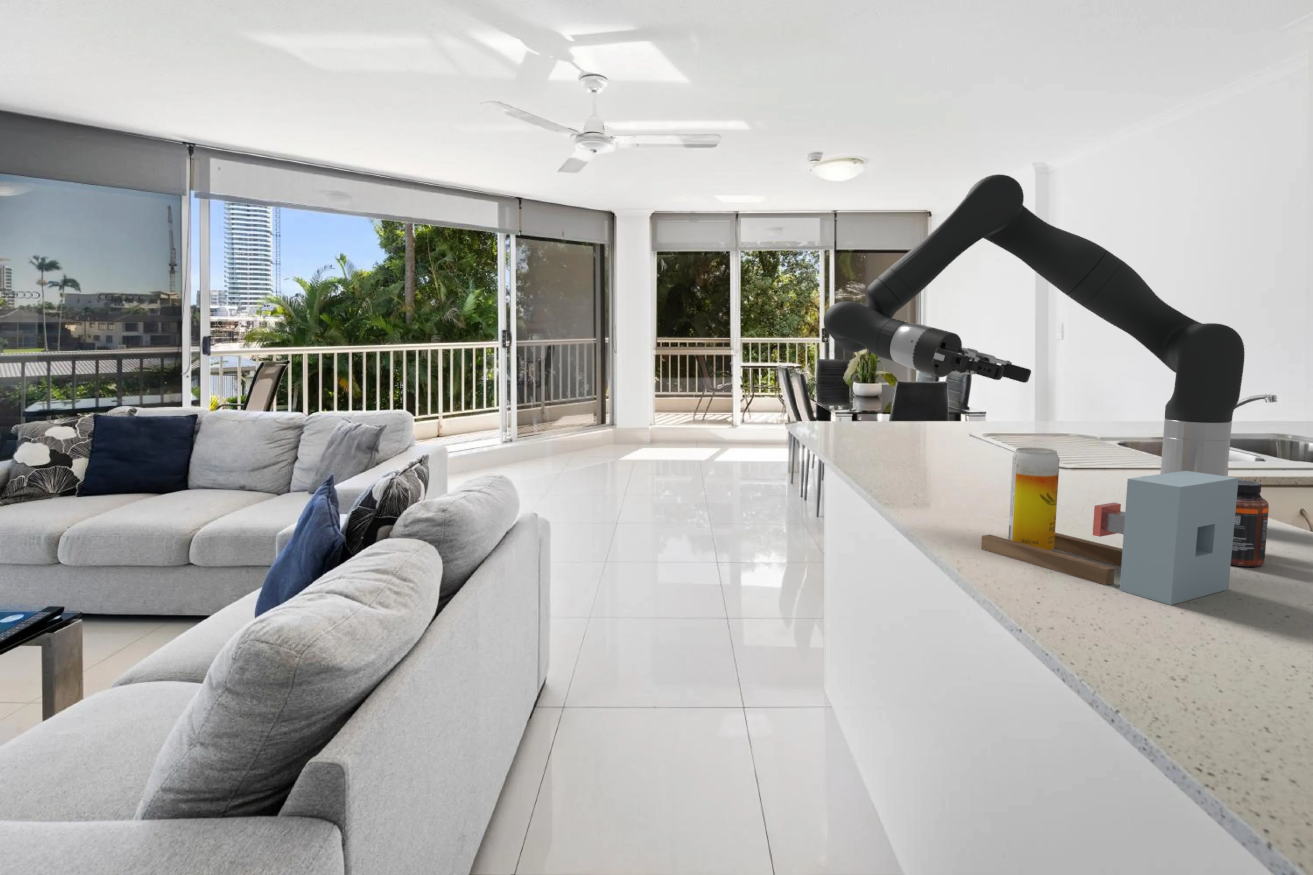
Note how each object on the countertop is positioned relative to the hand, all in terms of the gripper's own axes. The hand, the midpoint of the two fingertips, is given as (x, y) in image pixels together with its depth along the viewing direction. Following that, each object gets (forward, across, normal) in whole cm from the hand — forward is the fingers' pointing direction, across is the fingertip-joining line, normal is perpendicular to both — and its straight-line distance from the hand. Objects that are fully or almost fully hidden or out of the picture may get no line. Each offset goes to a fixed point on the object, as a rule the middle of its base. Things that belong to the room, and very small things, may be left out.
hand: (1015, 375), depth 115 cm
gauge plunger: (+26, -6, +15) cm, 30 cm away
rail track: (+17, -4, +22) cm, 28 cm away
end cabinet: (+31, -7, +19) cm, 37 cm away
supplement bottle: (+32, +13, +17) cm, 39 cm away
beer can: (+12, -3, +24) cm, 27 cm away
